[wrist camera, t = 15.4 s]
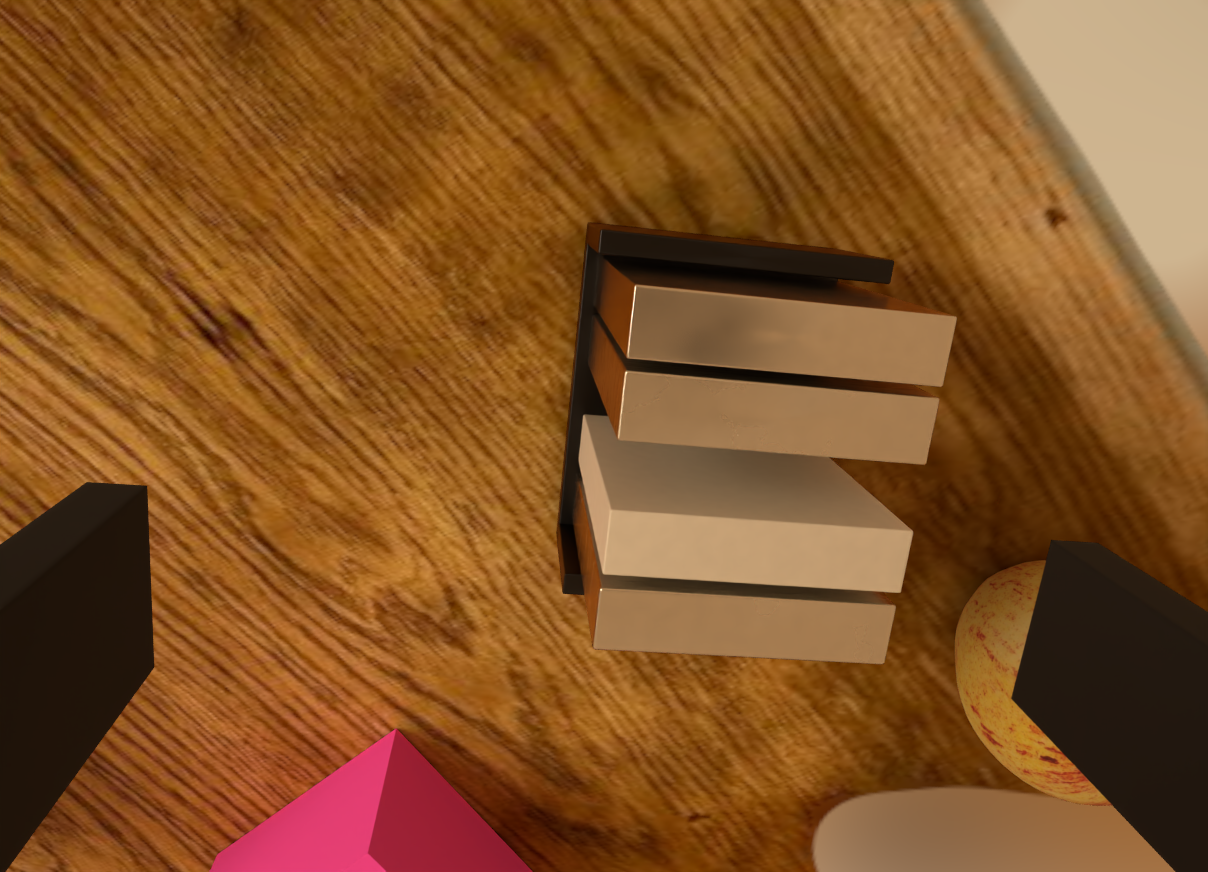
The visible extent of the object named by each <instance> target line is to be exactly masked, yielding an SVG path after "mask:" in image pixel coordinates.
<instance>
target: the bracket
mask: <svg viewBox="0 0 1208 872" xmlns="http://www.w3.org/2000/svg"><path fill="white" fill-rule="evenodd" d="M210 872H533V871H532V870H531V869H530V868H529V867H528V866H527V865H526V864H525V863H524V862H523V861H522V860H521V859H520V858H519V857H518V856H517V854H516V853H515V852H514V851H513V850H512V849H511V848H510V847H509V846H508V845H507V844H506V843H505V842H504V841H503V840H502V839H501V838H500V837H499V836H498V835H497V833H496V832H495V831H494V830H493V829H492V828H491V827H490V826H489V825H488V824H487V823H486V822H485V821H484V820H483V819H482V818H481V817H480V816H479V815H478V813H477V812H476V811H475V810H474V809H473V808H472V807H471V806H470V805H469V804H468V803H467V802H466V801H465V800H464V799H463V798H462V797H461V796H460V795H459V794H458V792H457V791H456V790H455V789H454V788H453V787H452V786H451V785H450V784H449V783H448V782H447V781H446V780H445V779H444V778H443V777H442V776H441V775H440V774H439V772H438V771H437V770H436V769H435V768H434V767H433V766H432V765H431V764H430V763H429V762H428V761H427V760H426V759H425V758H424V757H423V756H422V755H421V754H420V753H419V751H418V750H417V749H416V748H415V747H414V746H413V745H412V744H411V743H410V742H409V741H408V740H407V739H406V738H405V737H404V736H403V735H402V734H401V733H400V732H399V730H398V729H397V728H396V729H394V730H393V731H392V732H390V733H389V734H387V735H386V736H385V737H383V738H382V739H380V740H379V741H377V742H376V743H375V744H373V745H372V746H370V747H369V748H368V749H366V750H365V751H363V752H362V753H360V754H359V755H358V756H356V757H355V758H353V759H352V760H350V761H349V762H348V763H346V764H345V765H343V766H342V767H341V768H339V769H338V770H336V771H335V772H333V773H332V774H331V775H329V776H328V777H326V778H325V779H324V780H322V781H321V782H319V783H318V784H316V785H315V786H314V787H312V788H311V789H309V790H308V791H306V792H305V793H304V794H302V795H301V796H299V797H298V798H297V799H295V800H294V801H292V802H291V803H289V804H288V805H287V806H285V807H284V808H282V809H281V810H280V811H278V812H277V813H275V814H274V815H272V816H271V817H270V818H268V819H267V820H265V821H264V822H262V823H261V824H260V825H258V826H257V827H255V828H254V829H253V830H251V831H250V832H248V833H247V834H245V835H244V836H243V837H241V838H240V839H238V840H237V841H236V842H234V843H233V844H231V845H230V846H228V847H227V848H226V849H224V850H223V851H221V852H220V853H219V854H217V856H216V858H215V861H214V863H213V865H212V867H211V869H210Z"/></svg>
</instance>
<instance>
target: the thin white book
mask: <svg viewBox="0 0 1208 872" xmlns="http://www.w3.org/2000/svg"><path fill="white" fill-rule="evenodd" d="M579 465H580V470H581V474H582V479H583V484H584V489H585V493H586V498H587V503H588V507H589V512H590V517H591V521H592V526H593V531H594V535H595V540H596V545H597V549H598V554H599V559H600V563H601V568H602V573H603V574H605V575H621V576H637V577H653V578H669V579H685V580H701V581H717V582H733V583H749V584H765V585H781V586H798V587H814V588H830V589H846V590H862V591H878V592H894V593H900V592H901V589H902V584H903V579H904V574H905V570H906V565H907V560H908V555H909V551H910V546H911V541H912V536H913V531H912V530H911V529H910V528H909V527H908V526H907V525H905V524H904V523H903V522H902V521H901V520H900V519H899V518H897V517H896V516H895V515H894V514H893V513H892V512H891V511H889V510H888V509H887V508H886V507H885V506H884V505H883V504H882V503H880V502H879V501H878V500H877V499H876V498H875V497H874V496H872V495H871V494H870V493H869V492H868V491H867V490H866V489H864V488H863V487H862V486H861V485H860V484H859V483H858V482H856V481H855V480H854V479H853V478H852V477H851V476H850V475H848V474H847V473H846V472H845V471H844V470H843V469H842V468H840V467H839V466H838V465H837V464H836V463H835V462H834V461H833V460H831V459H830V458H829V457H818V456H806V455H793V454H781V453H768V452H755V451H743V450H730V449H718V448H705V447H693V446H680V445H667V444H655V443H642V442H630V441H619V440H617V438H616V435H615V433H614V430H613V427H612V425H611V422H610V419H609V417H608V416H598V415H586V414H585V415H583V423H582V432H581V442H580V451H579Z"/></svg>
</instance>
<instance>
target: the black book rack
mask: <svg viewBox="0 0 1208 872" xmlns="http://www.w3.org/2000/svg"><path fill="white" fill-rule="evenodd" d="M893 265H894V261H893V260H889V259H884V258H879V257H874V256H869V255H864V254H859V253H854V252H849V251H844V250H839V249H833V248H823V247H814V246H805V245H796V244H786V243H777V242H768V241H758V240H749V239H740V238H731V237H721V236H712V235H703V234H693V233H684V232H675V231H666V230H656V229H647V228H638V227H628V226H619V225H610V224H601V223H591V222H589V223H588V224H587V232H586V242H585V252H584V262H583V272H582V282H581V292H580V302H579V312H578V322H577V332H576V342H575V352H574V362H573V372H572V382H571V392H570V402H569V412H568V422H567V432H566V442H565V452H564V462H563V472H562V482H561V492H560V502H559V512H558V522H557V532H556V534H557V544H558V554H559V563H560V573H561V582H562V592H563V594H578V595H584V596H585V602H586V609H587V615H588V621H589V628H590V634H591V640H592V646H593V649H598V650H617V651H637V652H656V653H675V654H694V655H713V656H732V657H752V658H771V659H790V660H809V661H828V662H847V663H867V664H884V662H885V657H886V653H887V648H888V643H889V638H890V634H891V629H892V624H893V619H894V614H895V610H896V606H895V604H894V603H893V602H892V601H891V600H890V599H889V598H888V597H887V595H886V594H885V593H884V592H878V591H862V590H846V589H830V588H814V587H798V586H781V585H765V584H749V583H733V582H717V581H701V580H685V579H669V578H653V577H637V576H621V575H605V574H603V573H602V568H601V563H600V559H599V554H598V549H597V545H596V540H595V535H594V531H593V526H592V521H591V517H590V512H589V507H588V503H587V498H586V493H585V489H584V484H583V479H582V474H581V470H580V465H579V451H580V442H581V432H582V423H583V415H585V414H586V415H598V416H608V417H609V419H610V422H611V425H612V427H613V430H614V433H615V435H616V438H617V440H619V441H630V442H642V443H655V444H667V445H680V446H693V447H705V448H718V449H730V450H743V451H755V452H768V453H781V454H793V455H806V456H818V457H831V458H843V459H856V460H869V461H881V462H894V463H906V464H919V465H924V464H926V462H927V457H928V453H929V448H930V443H931V438H932V434H933V429H934V424H935V419H936V415H937V410H938V405H939V398H937V397H935V396H933V395H931V394H929V393H927V392H926V391H924V390H922V389H920V388H918V387H916V386H914V385H923V386H934V387H942V386H943V383H944V378H945V373H946V368H947V364H948V359H949V354H950V349H951V345H952V340H953V335H954V330H955V326H956V321H957V317H955V316H953V315H949V314H946V313H943V312H939V311H936V310H933V309H929V308H926V307H923V306H919V305H916V304H913V303H909V302H906V301H903V300H899V299H896V298H893V297H889V296H886V295H883V294H879V293H876V292H872V291H869V290H866V289H862V288H859V287H856V286H852V285H849V284H846V283H842V282H839V281H838V279H845V280H854V281H864V282H874V283H883V284H889V283H890V281H891V276H892V271H893Z"/></svg>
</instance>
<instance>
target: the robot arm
mask: <svg viewBox="0 0 1208 872" xmlns="http://www.w3.org/2000/svg"><path fill="white" fill-rule="evenodd" d="M153 668H154V649H153V624H152V598H151V573H150V547H149V522H148V496H147V486H141V485H125V484H108V483H91V482H87V483H85V484H84V485H82V486H81V487H80V488H78V489H77V490H75V491H74V492H73V493H71V494H70V495H69V496H67V497H66V498H64V499H63V500H62V501H60V502H59V503H57V504H56V505H55V506H53V507H52V508H50V509H49V510H48V511H46V512H45V513H44V514H42V515H41V516H39V517H38V518H37V519H35V520H34V521H32V522H31V523H30V524H28V525H27V526H26V527H24V528H23V529H21V530H20V531H19V532H17V533H16V534H14V535H13V536H12V537H10V538H9V539H8V540H6V541H5V542H3V543H2V544H1V545H0V872H6V870H7V869H8V867H9V866H10V865H11V863H12V862H13V861H14V859H15V858H16V856H17V855H18V854H19V852H20V851H21V850H22V848H23V847H24V845H25V844H26V843H27V841H28V840H29V839H30V837H31V836H32V834H33V833H34V832H35V830H36V829H37V828H38V826H39V825H40V824H41V822H42V821H43V819H44V818H45V817H46V815H47V814H48V813H49V811H50V810H51V808H52V807H53V806H54V804H55V803H56V802H57V800H58V799H59V797H60V796H61V795H62V793H63V792H64V791H65V789H66V788H67V786H68V785H69V784H70V782H71V781H72V780H73V778H74V777H75V775H76V774H77V773H78V771H79V770H80V769H81V767H82V766H83V764H84V763H85V762H86V760H87V759H88V758H89V756H90V755H91V753H92V752H93V751H94V749H95V748H96V747H97V745H98V744H99V742H100V741H101V740H102V738H103V737H104V736H105V734H106V733H107V732H108V730H109V729H110V727H111V726H112V725H113V723H114V722H115V721H116V719H117V718H118V716H119V715H120V714H121V712H122V711H123V710H124V708H125V707H126V705H127V704H128V703H129V701H130V700H131V699H132V697H133V696H134V694H135V693H136V692H137V690H138V689H139V688H140V686H141V685H142V683H143V682H144V681H145V679H146V678H147V677H148V675H149V674H150V672H151V671H152V670H153ZM1011 699H1012V700H1013V701H1014V702H1015V703H1016V704H1017V706H1018V707H1019V708H1020V709H1021V710H1022V711H1023V712H1024V713H1025V714H1026V715H1027V716H1028V717H1029V718H1030V719H1031V720H1032V721H1033V722H1034V723H1035V724H1036V725H1037V727H1038V728H1039V729H1040V730H1041V731H1042V732H1043V733H1044V734H1045V735H1046V736H1047V737H1048V738H1049V739H1050V740H1051V741H1052V742H1053V743H1054V744H1055V745H1056V747H1057V748H1058V749H1059V750H1060V751H1061V752H1062V753H1063V754H1064V755H1065V756H1066V757H1067V758H1068V759H1069V760H1070V761H1071V762H1072V763H1073V764H1074V765H1075V766H1076V768H1077V769H1078V770H1079V771H1080V772H1081V773H1082V774H1083V775H1084V776H1085V777H1086V778H1087V779H1088V780H1089V781H1090V782H1091V783H1092V784H1093V785H1094V786H1095V788H1096V789H1097V790H1098V791H1099V792H1100V793H1101V794H1102V795H1103V796H1104V797H1105V798H1106V799H1107V800H1108V801H1109V802H1110V803H1111V804H1112V805H1113V806H1114V808H1116V809H1117V811H1118V812H1119V813H1120V814H1121V815H1122V816H1123V817H1124V818H1125V819H1126V820H1127V821H1128V822H1129V823H1130V824H1131V825H1132V826H1133V827H1134V828H1135V830H1136V831H1137V832H1138V833H1139V834H1140V835H1141V836H1142V837H1143V838H1144V839H1145V840H1146V841H1147V842H1148V843H1149V844H1150V845H1151V846H1152V847H1153V848H1154V849H1155V851H1156V852H1158V854H1159V855H1160V856H1161V857H1162V858H1163V859H1164V860H1165V861H1166V862H1167V863H1168V864H1169V865H1170V866H1171V867H1172V868H1173V870H1174V871H1175V872H1208V612H1207V611H1205V610H1204V609H1202V608H1200V607H1199V606H1197V605H1196V604H1194V603H1192V602H1191V601H1189V600H1188V599H1186V598H1184V597H1183V596H1181V595H1180V594H1178V593H1176V592H1175V591H1173V590H1172V589H1170V588H1169V587H1167V586H1165V585H1164V584H1162V583H1161V582H1159V581H1157V580H1156V579H1154V578H1153V577H1151V576H1149V575H1148V574H1146V573H1145V572H1143V571H1142V570H1140V569H1138V568H1137V567H1135V566H1134V565H1132V564H1130V563H1129V562H1127V561H1126V560H1124V559H1122V558H1121V557H1119V556H1118V555H1116V554H1114V553H1113V552H1111V551H1110V550H1108V549H1107V548H1105V547H1103V546H1102V545H1100V544H1099V543H1091V542H1074V541H1058V540H1051V544H1050V547H1049V551H1048V555H1047V559H1046V563H1045V567H1044V571H1043V575H1042V579H1041V583H1040V587H1039V591H1038V595H1037V599H1036V603H1035V606H1034V610H1033V614H1032V618H1031V622H1030V626H1029V630H1028V634H1027V638H1026V642H1025V646H1024V650H1023V654H1022V658H1021V662H1020V665H1019V669H1018V673H1017V677H1016V681H1015V685H1014V689H1013V693H1012V697H1011Z"/></svg>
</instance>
